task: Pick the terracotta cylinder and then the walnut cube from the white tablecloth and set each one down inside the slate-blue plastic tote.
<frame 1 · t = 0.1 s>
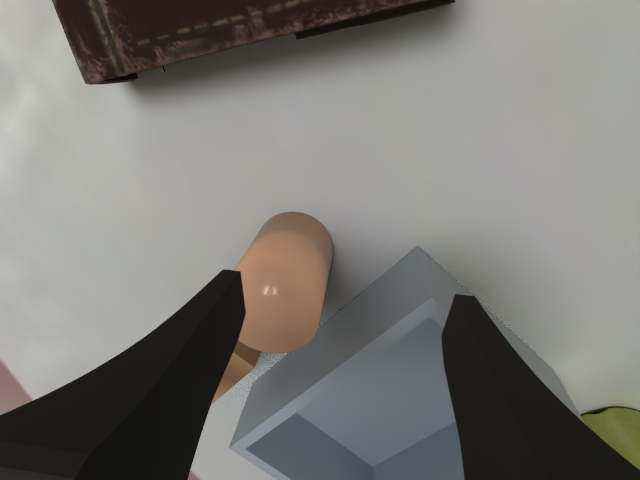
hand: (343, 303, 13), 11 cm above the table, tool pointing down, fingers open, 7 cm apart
plant pot: (605, 432, 28), on the table
terracotta cylinder: (295, 247, 24), on the table
tote: (391, 376, 28), on the table
walnut cube: (227, 315, 27), on the table
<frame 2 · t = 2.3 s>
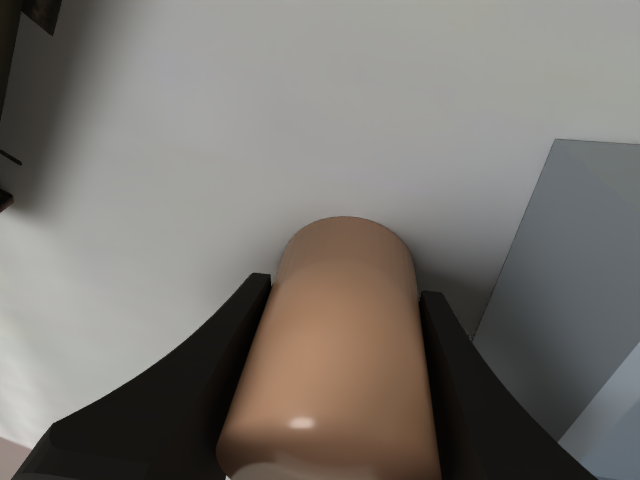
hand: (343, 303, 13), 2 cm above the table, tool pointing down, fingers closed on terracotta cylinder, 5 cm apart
terracotta cylinder: (346, 273, 14), on the table, touching gripper
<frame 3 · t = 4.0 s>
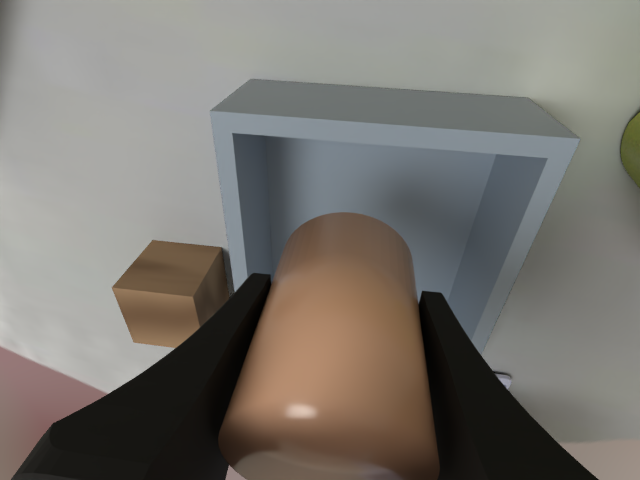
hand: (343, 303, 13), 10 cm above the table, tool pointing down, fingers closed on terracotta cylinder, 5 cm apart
terracotta cylinder: (346, 268, 14), point 8 cm above the table, touching gripper
tote: (365, 234, 23), on the table
walnut cube: (193, 270, 27), on the table
when the fingers open (4 cm above the table, at t = 5.9 s): terracotta cylinder drops 1 cm, resting on tote.
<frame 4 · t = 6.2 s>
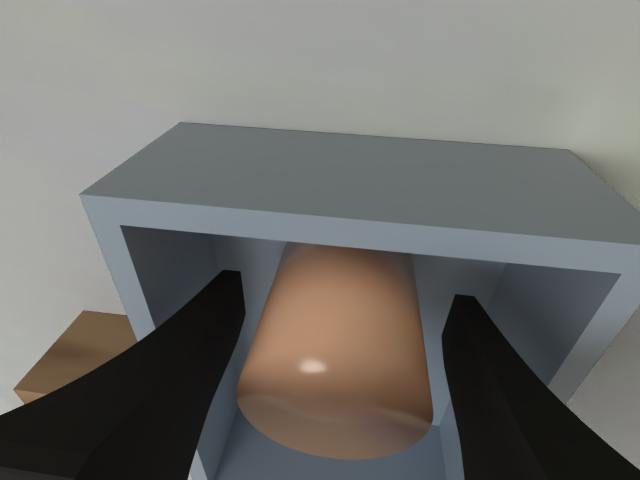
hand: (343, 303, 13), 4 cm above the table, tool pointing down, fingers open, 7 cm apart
terracotta cylinder: (348, 249, 15), point 1 cm above the table, touching tote
tote: (347, 311, 18), on the table
walnut cube: (138, 343, 22), on the table
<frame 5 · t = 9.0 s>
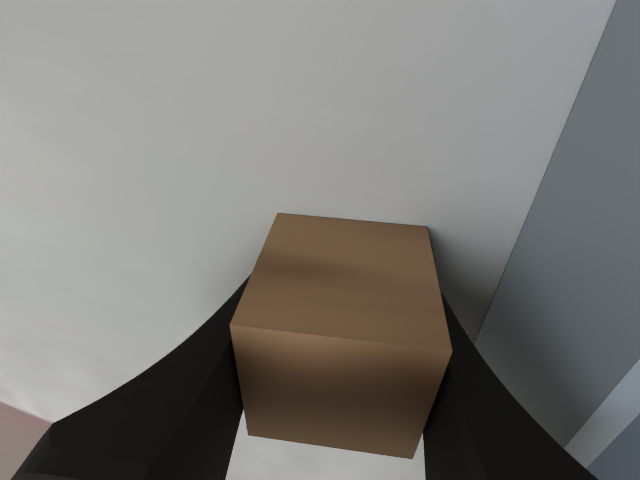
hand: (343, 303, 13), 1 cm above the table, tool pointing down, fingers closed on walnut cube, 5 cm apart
walnut cube: (345, 276, 14), on the table, touching gripper
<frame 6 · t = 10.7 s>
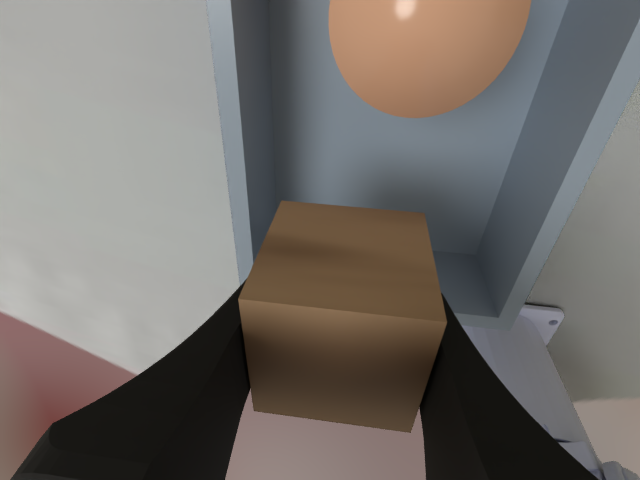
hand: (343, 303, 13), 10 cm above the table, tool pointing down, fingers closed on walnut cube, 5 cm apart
terracotta cylinder: (406, 4, 15), point 1 cm above the table, touching tote
tote: (394, 106, 18), on the table
walnut cube: (346, 262, 14), point 8 cm above the table, touching gripper
when the fingers open (4 cm above the table, at t = 12.4 s): walnut cube drops 1 cm, resting on tote.
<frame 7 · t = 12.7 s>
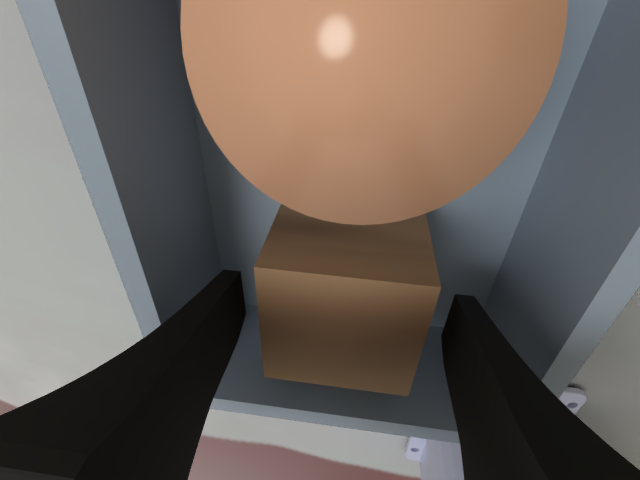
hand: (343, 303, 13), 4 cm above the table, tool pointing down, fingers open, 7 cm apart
terracotta cylinder: (369, 22, 11), point 1 cm above the table, touching tote
tote: (363, 153, 14), on the table
walnut cube: (349, 243, 15), point 1 cm above the table, touching tote
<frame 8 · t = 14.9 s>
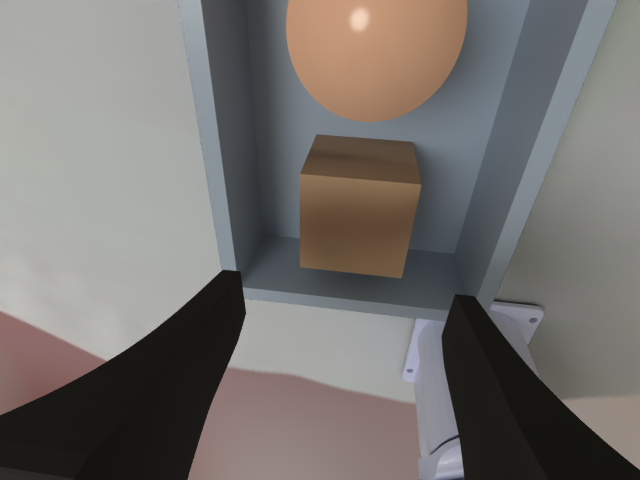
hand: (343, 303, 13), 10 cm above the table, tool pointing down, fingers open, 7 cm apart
terracotta cylinder: (375, 15, 16), point 1 cm above the table, touching tote
tote: (370, 111, 19), on the table
walnut cube: (359, 181, 21), point 1 cm above the table, touching tote
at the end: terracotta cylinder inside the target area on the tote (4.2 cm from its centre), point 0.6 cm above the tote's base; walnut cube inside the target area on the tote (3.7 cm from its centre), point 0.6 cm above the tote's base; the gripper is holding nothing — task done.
